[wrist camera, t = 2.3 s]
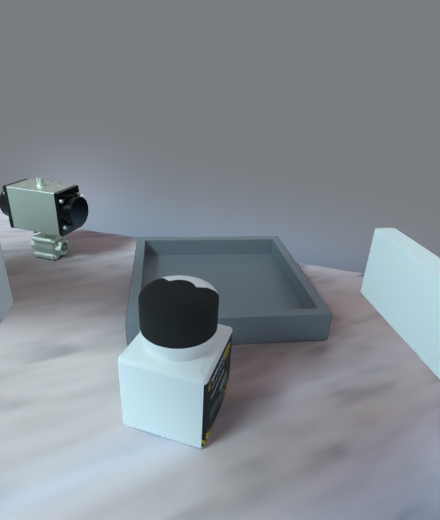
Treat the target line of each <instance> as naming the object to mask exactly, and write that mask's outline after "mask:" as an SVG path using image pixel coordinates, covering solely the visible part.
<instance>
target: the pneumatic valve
mask: <svg viewBox="0 0 440 520" xmlns="http://www.w3.org/2000/svg"><path fill="white" fill-rule="evenodd" d="M0 208H1V210H2V212H3V213H4V214H5V215H7V216H9V218H8V220H9V221H10V225H11V227H12V228H18V229H24V230H30V231H34V233H37V232H42V233H40V234H39V235H34V236H32V237H31V247H32V248H33V249H34V250H36V251H35V252H34V255H35V256H36V257H41V258H46V259H51V260H56V259H58V257H59V256H61V255H65V254H66V253H68V251H69V248H70V244H69V242H68V241H67V240H66V239H65V238H66V235H67V234H69V233H70V232H72V231H74V230H76V229H77V228H79V227H81V226H82V225H83V224H84V223H85V221H86V219H87V216H88V204H87V202H86V200H85V199H84V198H83V197H80V193H79V189H78V186H77V185H70V184H62V183H60V182H57V183H55V182H53V181H49V182H48V181H44V178H40V177H38V178H36V180H33V179H24V180H20V181H17V182H14V183H10V184H8V185H4V186H3V192H2V193H1V195H0Z"/></svg>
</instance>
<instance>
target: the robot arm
mask: <svg viewBox="0 0 440 520" xmlns="http://www.w3.org/2000/svg"><path fill="white" fill-rule="evenodd" d="M360 292H361V293H362V295H363V296H364V297H365V298H366V299H367V300H368V301H369V302H370V303H371V304H372V305H373V307H374V308H375V309H376V310H377V311H378V312H379V313H380V314H381V315H382V316H383V318H384V319H385V320H386V321H387V322H388V323H389V324H390V325H391V326H392V327H393V329H394V330H395V331H396V332H397V333H398V334H399V335H400V336H401V337H402V338H403V340H404V341H405V342H406V343H407V344H408V345H409V346H410V347H411V348H412V349H413V350H414V352H415V353H416V354H417V355H418V356H419V357H420V358H421V359H422V360H423V361H424V363H425V364H426V365H427V366H428V367H429V368H430V369H431V370H432V371H433V372H434V374H435V375H436V376H437V377H438V378H439V379H440V258H439V257H437V256H436V255H434V254H433V253H431V252H430V251H428V250H427V249H425V248H424V247H422V246H421V245H419V244H418V243H416V242H415V241H413V240H412V239H410V238H409V237H407V236H406V235H404V234H402V233H401V232H400V231H398V230H397V229H395V228H375V232H374V236H373V240H372V245H371V249H370V253H369V257H368V262H367V266H366V270H365V274H364V279H363V283H362V287H361V291H360ZM13 304H14V303H13V299H12V294H11V290H10V285H9V280H8V276H7V271H6V267H5V262H4V258H3V253H2V249H1V244H0V324H1V323H2V321H3V319H4V318H5V316H6V315H7V313H8V312H9V310H10V309H11V307H12V305H13Z"/></svg>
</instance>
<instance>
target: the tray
mask: <svg viewBox="0 0 440 520" xmlns="http://www.w3.org/2000/svg"><path fill="white" fill-rule="evenodd" d="M175 275H183V276H192V277H196V278H200V279H202V280H204V281H206V282H208V283H209V284H211V285H212V286H213V287H214V288H215V290H216V291H217V292H218V294H219V308H218V324H221V325H225V326H229V327H231V328H232V343H231V345H232V344H252V343H273V342H293V341H314V340H327V337H328V332H329V328H330V323H331V318H332V313H331V311H330V310H329V308H328V307H327V306H326V304H325V303H324V301H323V300H322V298H321V297H320V296H319V294H318V293H317V291H316V290H315V289H314V287H313V286H312V284H311V283H310V281H309V280H308V279H307V277H306V276H305V274H304V273H303V272H302V270H301V269H300V267H299V266H298V264H297V263H296V262H295V260H294V259H293V258H292V256H291V255H290V253H289V252H288V250H287V249H286V248H285V246H284V245H283V243H282V242H281V240H280V239H279V238H278V236H262V237H261V236H259V237H258V236H257V237H254V236H252V237H137V244H136V251H135V258H134V265H133V272H132V279H131V286H130V294H129V301H128V308H127V315H126V336H127V347H128V346H129V344H130V343H131V342H132V341H133V340H134V338H135V337H136V336H137V335H138V334H139V333H140V325H139V306H138V296H139V294H140V292H141V291H142V289H143V288H144V287H145V286H146V285H147V284H148V283H150V282H152V281H154V280H156V279H159V278H162V277H167V276H175Z"/></svg>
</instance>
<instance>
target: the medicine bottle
mask: <svg viewBox="0 0 440 520" xmlns="http://www.w3.org/2000/svg"><path fill="white" fill-rule="evenodd" d="M138 306H139V325H140V333H139V334H138V335H137V336H136V337H135V338H134V340H133V341H132V342H131V343H130V344H129V346H128V347H127V348H126V349H125V350H124V351H123V353H122V354H121V355H120V356H119V358H118V370H119V382H120V393H121V405H122V417H123V423H124V425H126V426H129V427H133V428H136V429H139V430H142V431H145V432H148V433H152V434H155V435H158V436H161V437H164V438H167V439H171V440H174V441H177V442H180V443H183V444H186V445H190V446H193V447H196V448H200V449H201V448H203V447H204V446H205V443H206V441H207V438H208V436H209V433H210V431H211V429H212V426H213V424H214V421H215V419H216V416H217V414H218V411H219V409H220V406H221V404H222V401H223V399H224V397H225V394H226V392H227V389H228V381H229V368H230V356H231V343H232V328H231V327H229V326H225V325H221V324H218V308H219V294H218V292H217V291H216V290H215V288H214V287H213V286H212V285H211V284H209V283H208V282H206V281H204V280H202V279H200V278H196V277H192V276H183V275H175V276H167V277H162V278H159V279H156V280H154V281H152V282H150V283H148V284H147V285H146V286H145V287H144V288H143V289H142V291H141V292H140V294H139V296H138Z"/></svg>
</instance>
